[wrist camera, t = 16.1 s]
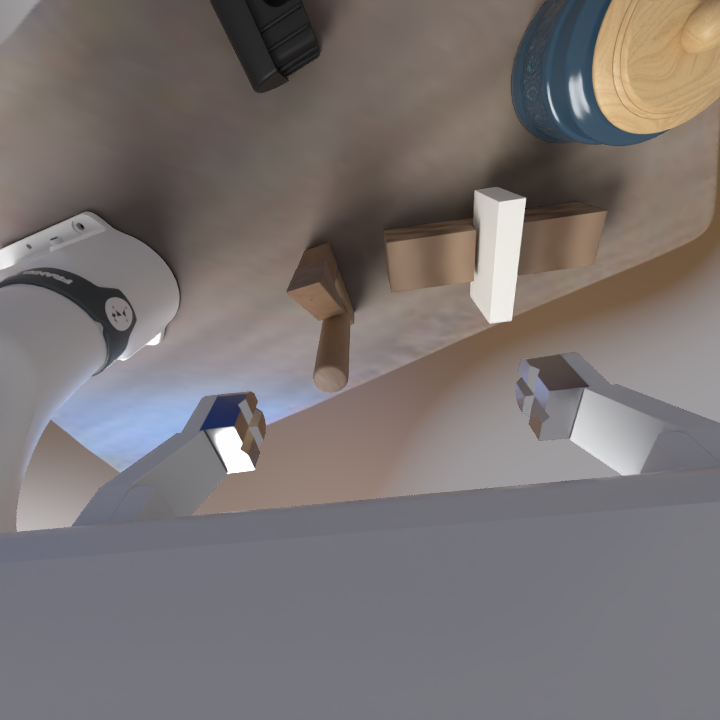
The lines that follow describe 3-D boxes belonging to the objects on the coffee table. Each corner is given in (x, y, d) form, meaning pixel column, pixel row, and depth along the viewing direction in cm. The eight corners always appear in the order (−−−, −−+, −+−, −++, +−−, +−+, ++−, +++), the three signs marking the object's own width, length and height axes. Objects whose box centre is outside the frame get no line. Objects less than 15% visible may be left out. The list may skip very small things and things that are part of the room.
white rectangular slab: (474, 190, 39) (499, 201, 32) (496, 186, 39) (526, 197, 32) (470, 295, 46) (489, 323, 39) (489, 293, 46) (511, 320, 39)
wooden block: (329, 241, 44) (315, 296, 29) (355, 313, 50) (354, 389, 35) (303, 250, 45) (276, 309, 30) (331, 319, 51) (321, 398, 36)
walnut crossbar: (387, 275, 47) (391, 292, 42) (383, 230, 43) (386, 243, 38) (567, 250, 45) (594, 264, 40) (577, 201, 42) (607, 210, 37)
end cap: (204, -29, 31) (170, -66, 25) (270, -79, 29) (250, -129, 24) (265, 97, 36) (248, 90, 30) (324, 60, 34) (318, 46, 29)
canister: (501, 151, 39) (589, 162, 24) (514, -10, 32) (650, -134, 17) (620, 132, 38) (787, 132, 23) (661, -39, 31) (938, -195, 16)
